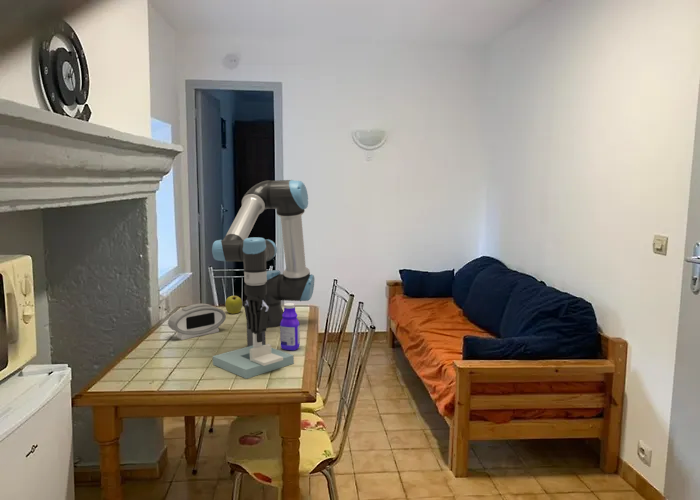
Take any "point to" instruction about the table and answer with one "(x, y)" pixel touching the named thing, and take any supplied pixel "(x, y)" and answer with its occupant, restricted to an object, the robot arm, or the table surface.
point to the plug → (249, 338)
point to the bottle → (289, 328)
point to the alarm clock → (196, 320)
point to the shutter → (264, 355)
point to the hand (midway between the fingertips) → (257, 350)
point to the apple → (233, 304)
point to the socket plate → (249, 362)
